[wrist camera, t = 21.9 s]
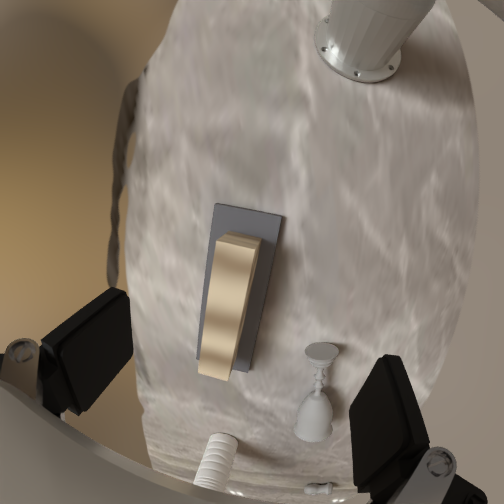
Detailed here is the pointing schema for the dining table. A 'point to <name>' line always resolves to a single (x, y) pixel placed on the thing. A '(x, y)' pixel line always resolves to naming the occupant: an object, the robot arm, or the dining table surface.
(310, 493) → the smooth white sculpture
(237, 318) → the grooved wooden block
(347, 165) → the dining table surface
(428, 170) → the dining table surface
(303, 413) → the chalice
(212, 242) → the tool pad
